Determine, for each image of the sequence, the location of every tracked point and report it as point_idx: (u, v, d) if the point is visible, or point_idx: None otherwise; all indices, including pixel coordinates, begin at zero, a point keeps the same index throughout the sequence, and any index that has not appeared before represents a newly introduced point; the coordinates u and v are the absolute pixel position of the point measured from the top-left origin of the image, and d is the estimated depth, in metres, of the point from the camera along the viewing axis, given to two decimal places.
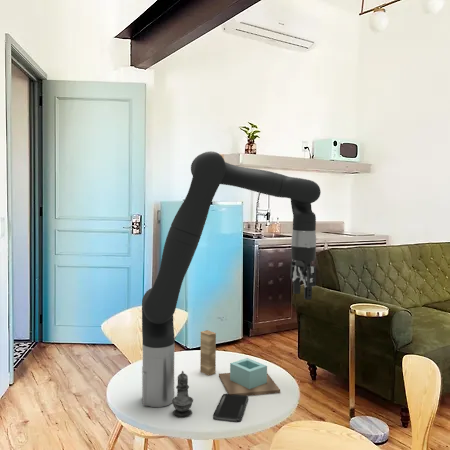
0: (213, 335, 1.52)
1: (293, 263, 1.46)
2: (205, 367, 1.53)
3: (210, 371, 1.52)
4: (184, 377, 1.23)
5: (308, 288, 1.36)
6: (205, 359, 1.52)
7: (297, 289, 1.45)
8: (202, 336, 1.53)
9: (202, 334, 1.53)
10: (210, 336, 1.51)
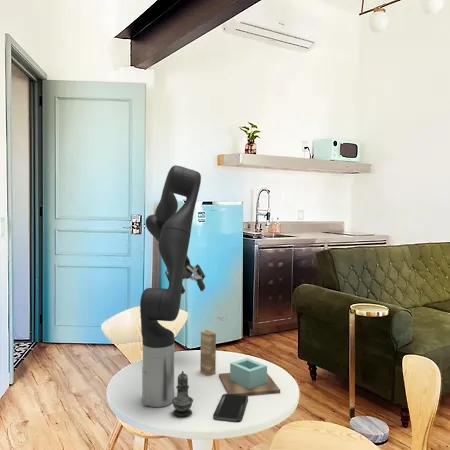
0: (213, 335, 1.52)
1: None
2: (205, 367, 1.53)
3: (210, 371, 1.52)
4: (184, 377, 1.23)
5: None
6: (205, 359, 1.52)
7: None
8: (202, 336, 1.53)
9: (202, 334, 1.53)
10: (210, 336, 1.51)
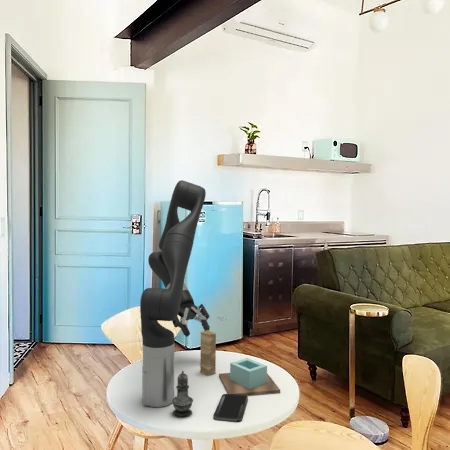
0: (213, 335, 1.52)
1: None
2: (205, 367, 1.53)
3: (210, 371, 1.52)
4: (184, 377, 1.23)
5: None
6: (205, 359, 1.52)
7: None
8: (202, 336, 1.53)
9: (202, 334, 1.53)
10: (210, 336, 1.51)
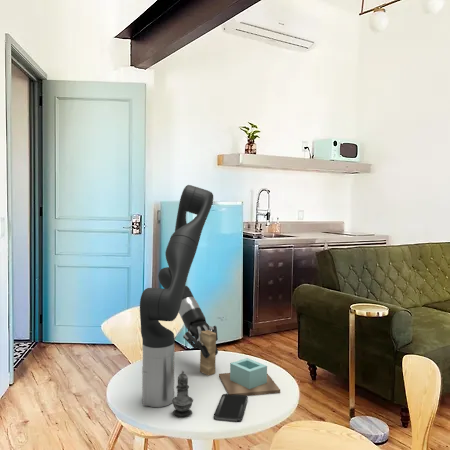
0: (213, 335, 1.52)
1: None
2: (204, 367, 1.53)
3: (210, 371, 1.52)
4: (184, 377, 1.23)
5: None
6: (205, 359, 1.52)
7: None
8: (202, 336, 1.53)
9: (202, 334, 1.53)
10: (211, 336, 1.51)
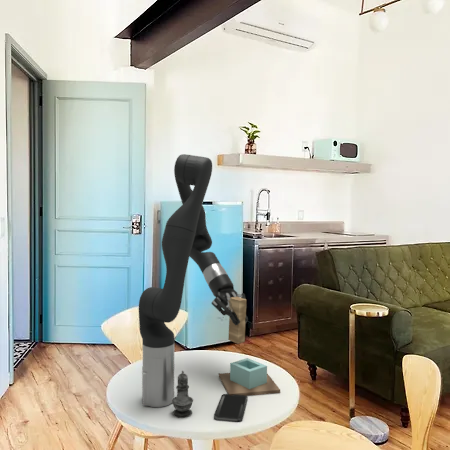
0: (244, 301, 1.44)
1: None
2: (234, 335, 1.45)
3: (239, 339, 1.45)
4: (184, 377, 1.23)
5: None
6: (235, 327, 1.45)
7: None
8: (232, 302, 1.46)
9: (232, 300, 1.46)
10: (241, 302, 1.44)
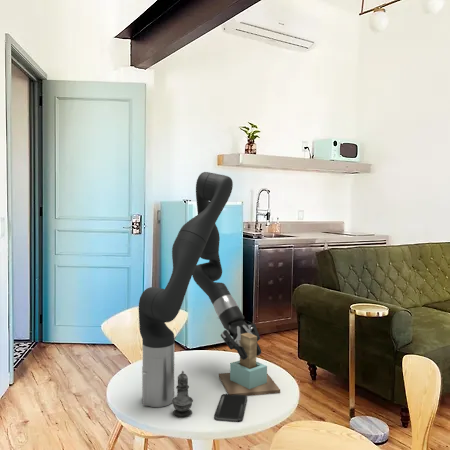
0: (254, 338, 1.42)
1: None
2: None
3: None
4: (184, 377, 1.23)
5: None
6: (245, 364, 1.43)
7: None
8: (242, 339, 1.44)
9: (242, 337, 1.44)
10: (251, 339, 1.42)
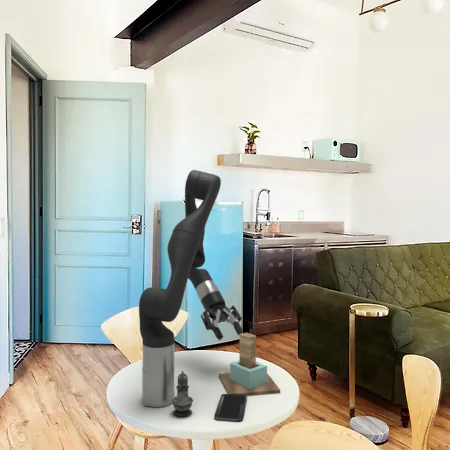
0: (253, 338, 1.43)
1: None
2: None
3: None
4: (184, 377, 1.23)
5: None
6: (245, 364, 1.43)
7: None
8: (241, 339, 1.44)
9: (241, 337, 1.44)
10: (251, 339, 1.42)
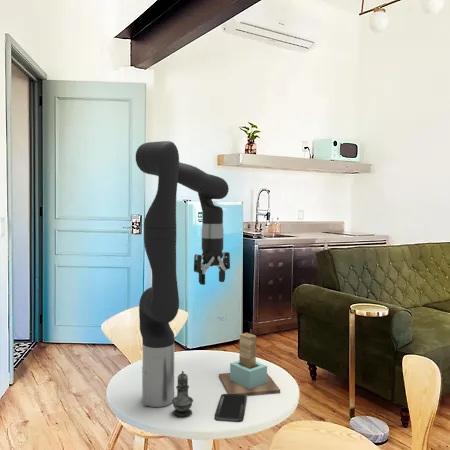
0: (253, 338, 1.43)
1: None
2: None
3: None
4: (184, 377, 1.23)
5: None
6: (245, 364, 1.43)
7: None
8: (241, 339, 1.44)
9: (241, 337, 1.44)
10: (251, 339, 1.42)
